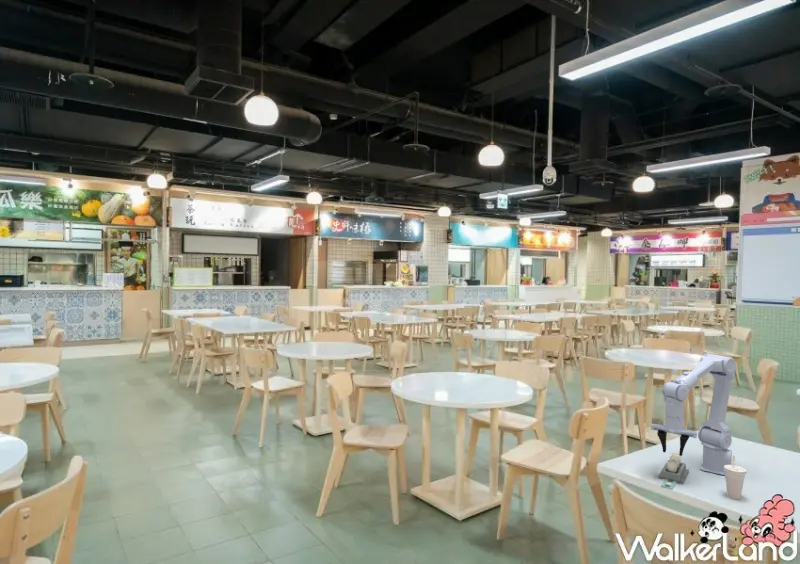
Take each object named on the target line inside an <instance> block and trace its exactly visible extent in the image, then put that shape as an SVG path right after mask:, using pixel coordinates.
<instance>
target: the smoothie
mask: <svg viewBox="0 0 800 564" xmlns="http://www.w3.org/2000/svg"><path fill="white" fill-rule="evenodd" d="M735 461H736V455H735V454H732V464H731V465H724V470H725V475H724V476H725V484H726V485H725V486H726V496H727V497H728V498H731V499H733V500H734V499H735V500H741V498H742V493H743V488H744V487H743V486H744V483H745V475H747V470H746V469H745V468H744V467H742V466H739V465H735V464H736V463H735Z"/></svg>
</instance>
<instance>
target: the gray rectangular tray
mask: <svg viewBox="0 0 800 564" xmlns="http://www.w3.org/2000/svg"><path fill="white" fill-rule="evenodd" d="M667 466H668V461H667V462H666V463H665V464H664V466H663V468H662V469H661V471H660V472H659V474H658V476H657V477H658V478H657V479H659V480H663V481H664V480H665V479H667V480H672V481H675V482H676V484H680V485H684V484H685V482H686V480H687V477H688V476H689V473H690V469H689V468H688V469H687V464H686V463H684V462H681V466H679V470H677V473H671V472H667Z"/></svg>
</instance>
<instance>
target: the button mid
mask: <svg viewBox="0 0 800 564" xmlns="http://www.w3.org/2000/svg"><path fill="white" fill-rule="evenodd" d="M669 460H675V461H677V470H679V458H678V457H674V456H672V455H671V456H669Z"/></svg>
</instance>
